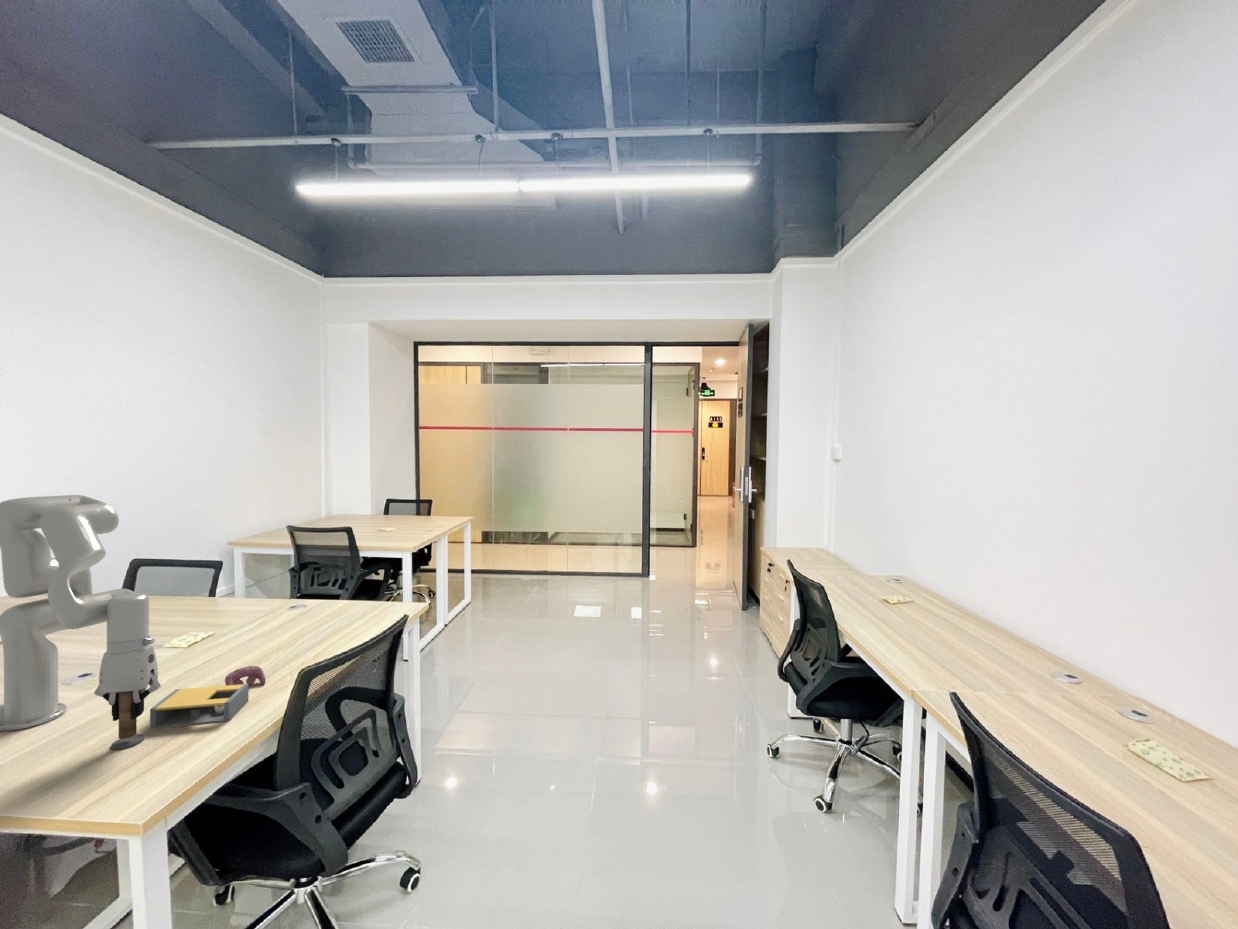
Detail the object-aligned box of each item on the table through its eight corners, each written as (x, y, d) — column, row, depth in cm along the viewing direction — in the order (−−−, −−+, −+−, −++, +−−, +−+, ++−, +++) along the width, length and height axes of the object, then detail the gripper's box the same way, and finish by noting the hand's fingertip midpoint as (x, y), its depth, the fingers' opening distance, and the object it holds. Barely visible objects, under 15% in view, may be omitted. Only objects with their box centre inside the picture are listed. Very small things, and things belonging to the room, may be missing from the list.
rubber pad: (104, 751, 121) (104, 749, 121) (122, 737, 127) (122, 736, 127) (134, 748, 123) (134, 746, 123) (150, 734, 129) (150, 733, 129)
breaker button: (211, 713, 138) (211, 708, 138) (218, 707, 142) (218, 701, 142) (226, 712, 139) (226, 706, 139) (233, 706, 143) (233, 700, 143)
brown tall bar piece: (124, 732, 126) (124, 681, 126) (139, 731, 127) (139, 680, 127) (115, 739, 123) (115, 687, 123) (130, 738, 124) (131, 686, 123)
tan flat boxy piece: (149, 728, 132) (150, 709, 132) (175, 707, 142) (175, 689, 142) (229, 721, 136) (229, 702, 136) (248, 701, 147) (248, 684, 147)
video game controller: (263, 685, 160) (260, 663, 162) (267, 683, 157) (264, 660, 159) (224, 697, 152) (222, 673, 154) (228, 694, 149) (225, 671, 151)
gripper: (176, 637, 130) (176, 706, 131) (99, 641, 126) (99, 713, 127) (157, 648, 123) (157, 721, 123) (75, 653, 119) (75, 729, 119)
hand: (128, 716), depth 125 cm, fingers closed on brown tall bar piece, 3 cm apart
